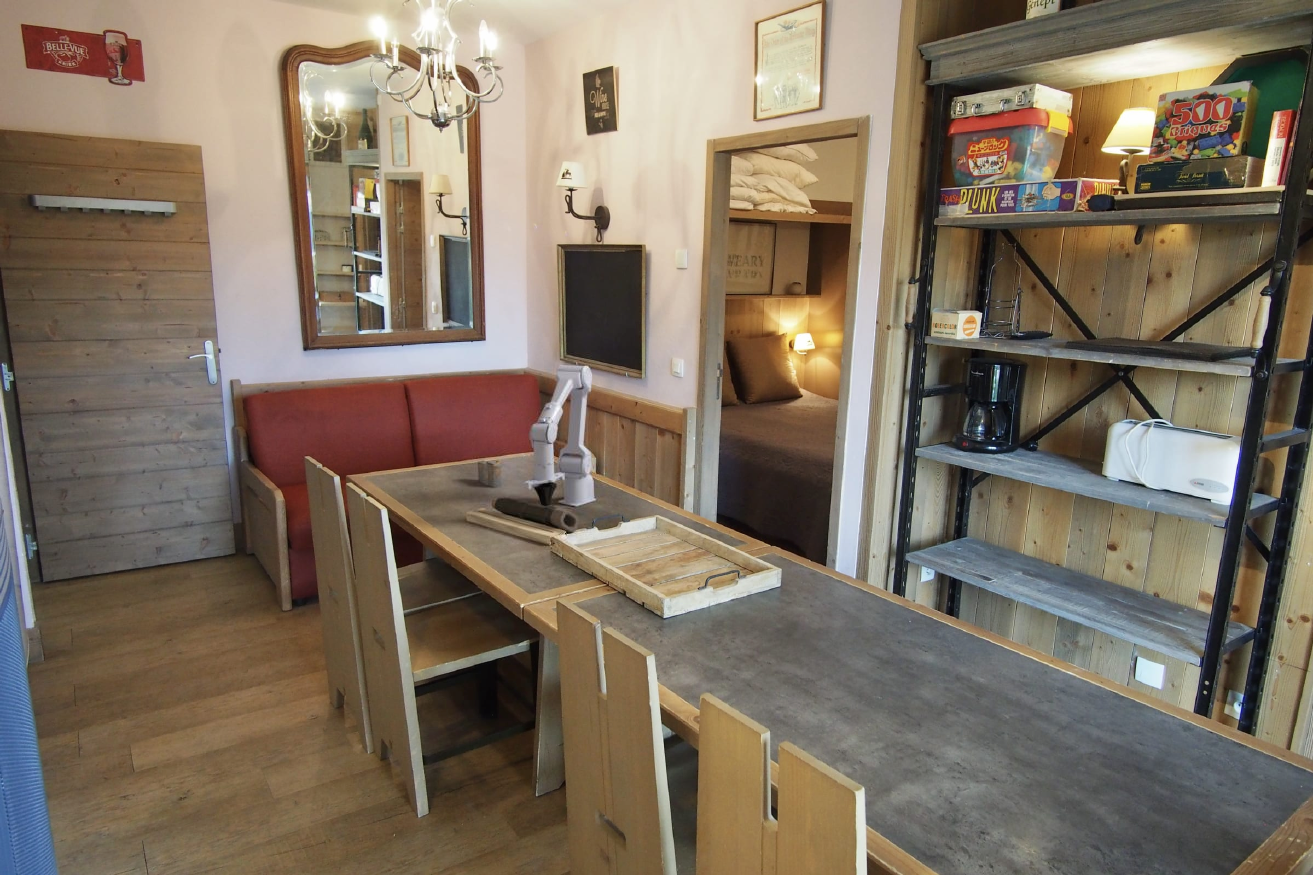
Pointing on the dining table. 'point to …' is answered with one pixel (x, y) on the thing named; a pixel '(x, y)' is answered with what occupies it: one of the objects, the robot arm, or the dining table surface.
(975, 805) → the dining table surface
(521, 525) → the plank
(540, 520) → the tube
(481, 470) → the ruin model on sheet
